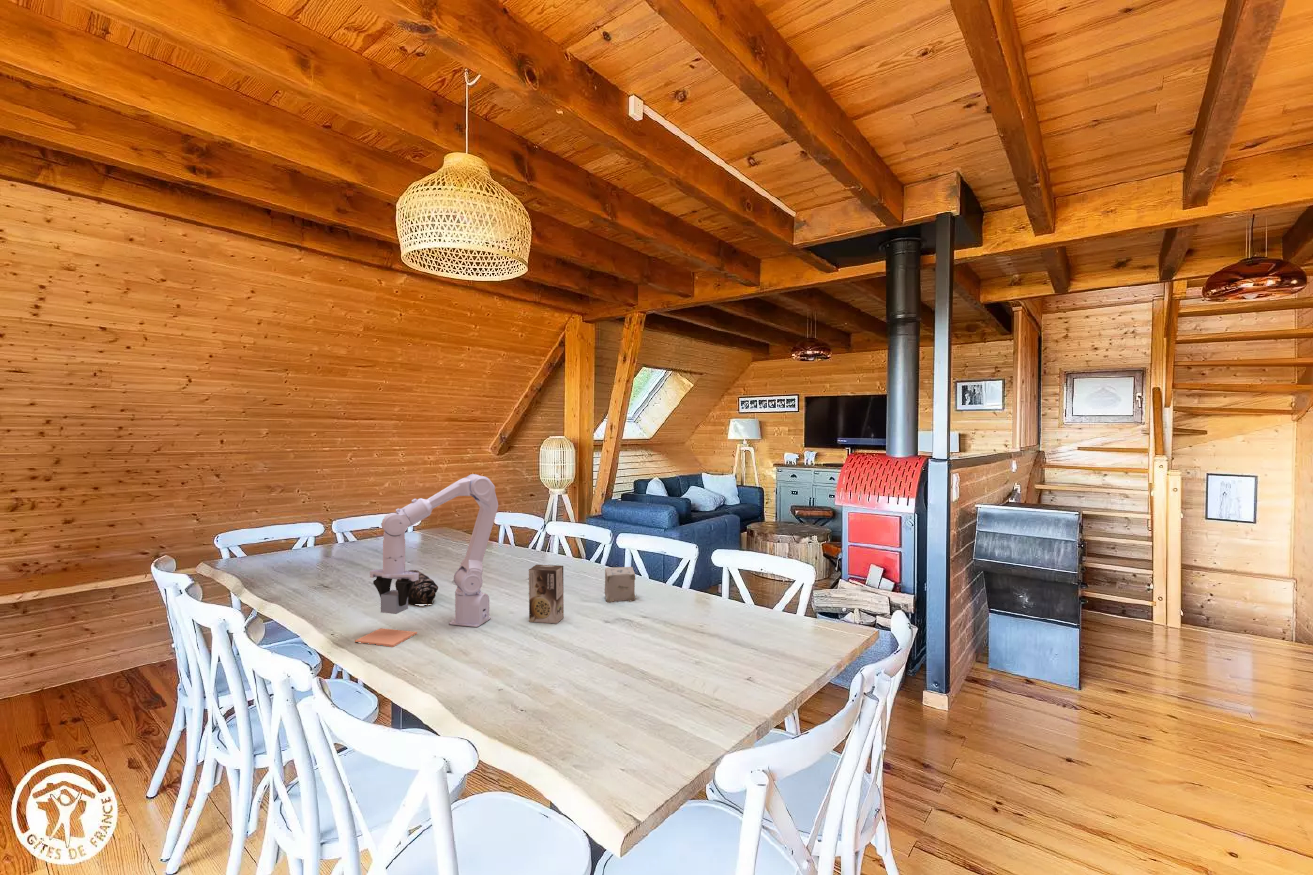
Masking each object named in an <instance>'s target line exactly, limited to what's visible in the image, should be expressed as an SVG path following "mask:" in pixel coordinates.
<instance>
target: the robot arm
mask: <svg viewBox="0 0 1313 875" xmlns="http://www.w3.org/2000/svg"><path fill="white" fill-rule="evenodd" d="M457 497H472V498H473V499H474V501H475V502H476V504H477V505H478V507H479V510H478V512H477V516H476V519H475V523H474V527H473V529H472V533H471V537H470V539H469V543H468V547H467V550H466V553H465V556H464V558H463V560H462V561H461V562H460V566H459V568H458V569H457V570H456V571H455V573H454V574H453V575H454V576H453V582H454V584H455V585H456V589H455V592H454V593H455V594H454V596H455V597H454V601H455V602H454V605H455V606H454V617H455V618H454V619H453V620H451V621H450V622H448V625H452V626H461V627H462V626H463V627H475V628H477V627H480V626H482V625H483V624H485V623H486V622H488V621H490V619H491V616H490V596H489V595H488V594H487V593H484V592H483V591H482V590H481V588H482V587H483V571H484V569H483V568H484V567H483V560H484V556H485V554H486V550H487V546H488V543H489V539H490V536H491V533H492V530H493V526H494V521H495V519H496V516H497V513H498V509H499V502H498V497H497V495H496V485H494V483H493V482H492V480H491V479H490V478H489V477H487V476H483V475H480V474H476V473H472V474H469V475H467V476H465V477H463V478H460V479H459V480H457V481H454V482H452V483H451V484H450V485H448V486H447V487H445V488H443V489H442V490H440V491H438V492H436V493H435V494H433V495H432V496H430V497H429V498H422V497H421V498H418V499H417V498H413V499H411V502H410V503H409V504H407V505H405V506H403V507H401V508H398V507H397V508H396V509H395V512H390V513H388V514H386V515H385V516H384V518H383V519H382V522H381V523H380V525H381V528H382V530H383V536H382V537H383V540H382V569H377V568H376V569H375V568H374V569H372V570H369V578H371V579H372V578H376V579H374V580H373V581H372V584H373V585H374V586H375V589H376V590H377V592H378V594H379V597H380V599H381V594H384V593H386V592H389V591H391V586H392V581H393V579H394V580H397V579H401V581H398V582H396V581H395V583H396V585H395V586H397V590H398V598H399V606H403V605H406V602H407V598H408V595H409V592H410V589H411V587H412V585H413V584H414V582H415V581H416V580H419V573H415V572H411V571H409V570H407V569H406V539H405V538H406V535H405V534H406V533H405V532H406V531H407V530H408V528H409V527H412V526H414V525H415V524H417V523H419V522H421V521H422V520H425V519H427V518H428V517H429V516H431V515H432V511H433V510H434V509H435V508H437V507H439V506H441V505H443V504H445V503H447V502H448V501H451V500H453V499H455V498H457Z"/></svg>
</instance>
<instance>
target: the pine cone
mask: <svg viewBox="0 0 1313 875" xmlns="http://www.w3.org/2000/svg"><path fill="white" fill-rule="evenodd" d="M408 571H411V572H415V573H419V580H416V581H415V582H414V584H413V585H412V587H411V589H410V592H409V595H408V605H413V604H432V605H433V604H434V602H433V603H432V601H433V600H435V598H436V597H437V596H436V593H437V592H438V590H439V586H438V584H436V582H435V581H434V580H433V579H432V578H430V577H429V576H428V575H426V574H425V573H423V572H421V571H420V570H417V569H410V570H408ZM398 581H401V579H396V581H395V590H397V586H396V582H398Z"/></svg>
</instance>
